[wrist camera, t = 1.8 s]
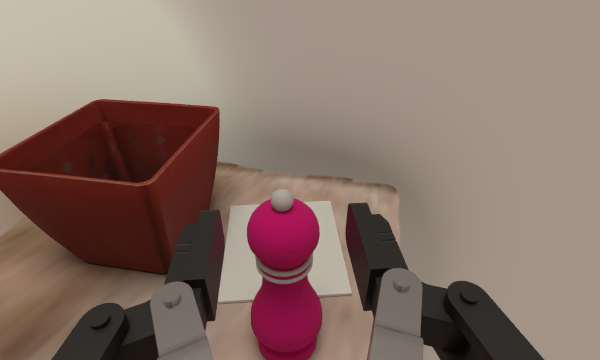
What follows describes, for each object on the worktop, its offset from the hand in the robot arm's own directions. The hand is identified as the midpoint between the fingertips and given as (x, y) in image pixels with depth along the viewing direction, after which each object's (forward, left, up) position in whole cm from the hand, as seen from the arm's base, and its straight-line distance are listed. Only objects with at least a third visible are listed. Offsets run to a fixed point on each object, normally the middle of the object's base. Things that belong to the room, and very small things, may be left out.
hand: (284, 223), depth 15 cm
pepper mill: (-4, +10, -26) cm, 28 cm away
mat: (-8, +23, -26) cm, 36 cm away
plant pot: (-28, +20, -26) cm, 43 cm away
